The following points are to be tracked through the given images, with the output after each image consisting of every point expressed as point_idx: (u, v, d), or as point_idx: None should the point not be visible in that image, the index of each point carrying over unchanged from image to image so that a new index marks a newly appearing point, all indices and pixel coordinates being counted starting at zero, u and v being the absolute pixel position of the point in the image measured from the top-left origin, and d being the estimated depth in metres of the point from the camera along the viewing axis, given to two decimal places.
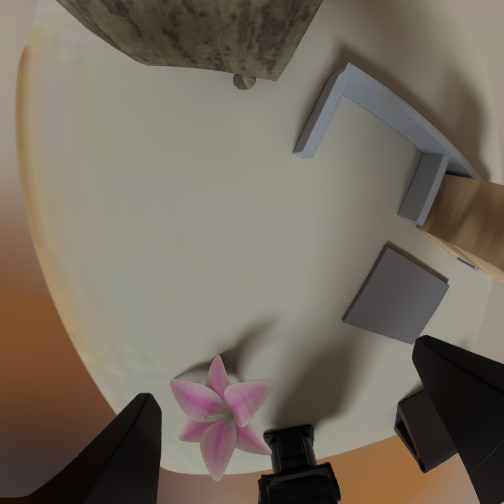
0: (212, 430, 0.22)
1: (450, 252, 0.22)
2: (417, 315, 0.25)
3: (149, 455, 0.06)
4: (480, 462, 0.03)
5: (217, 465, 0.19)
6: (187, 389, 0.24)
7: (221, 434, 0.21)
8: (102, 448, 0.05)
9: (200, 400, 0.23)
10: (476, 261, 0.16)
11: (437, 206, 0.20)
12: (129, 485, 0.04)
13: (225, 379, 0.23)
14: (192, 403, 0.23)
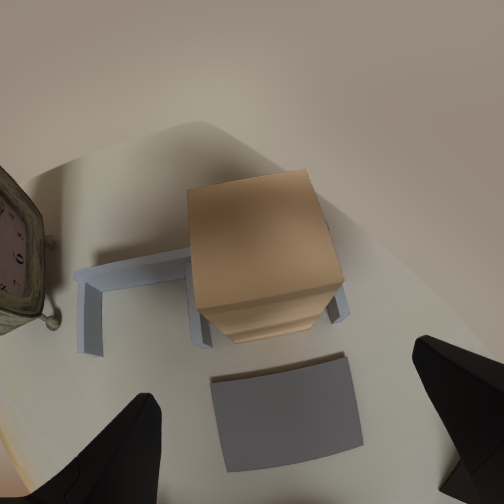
0: None
1: (304, 329, 0.21)
2: (328, 417, 0.17)
3: (149, 455, 0.06)
4: (480, 462, 0.03)
5: None
6: None
7: None
8: (102, 448, 0.05)
9: None
10: (260, 323, 0.15)
11: None
12: (129, 485, 0.04)
13: None
14: None
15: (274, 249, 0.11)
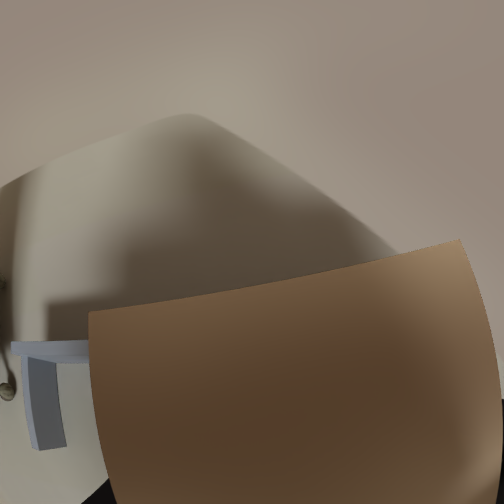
0: None
1: None
2: None
3: None
4: None
5: None
6: None
7: None
8: None
9: None
10: None
11: None
12: None
13: None
14: None
15: None
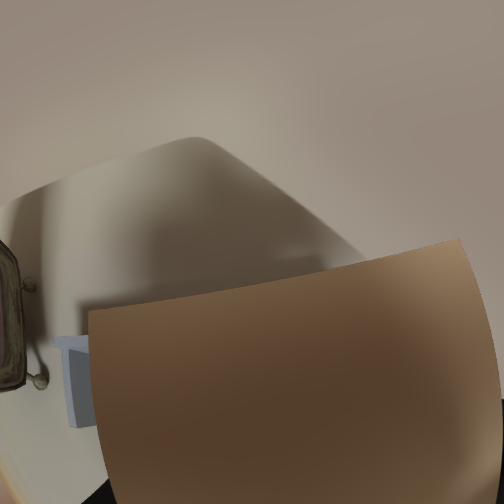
0: None
1: None
2: None
3: None
4: None
5: None
6: None
7: None
8: None
9: None
10: None
11: None
12: None
13: None
14: None
15: None
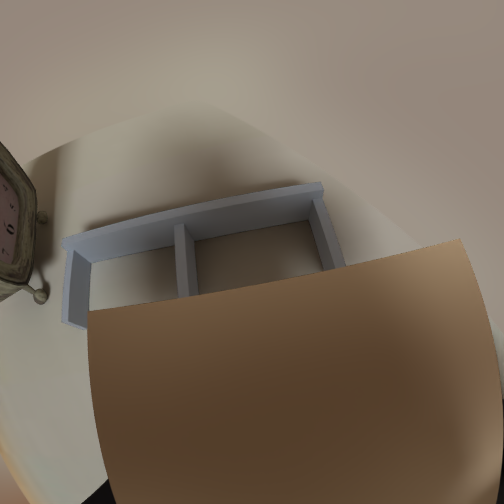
0: None
1: None
2: None
3: None
4: None
5: None
6: None
7: None
8: None
9: None
10: None
11: None
12: None
13: None
14: None
15: None
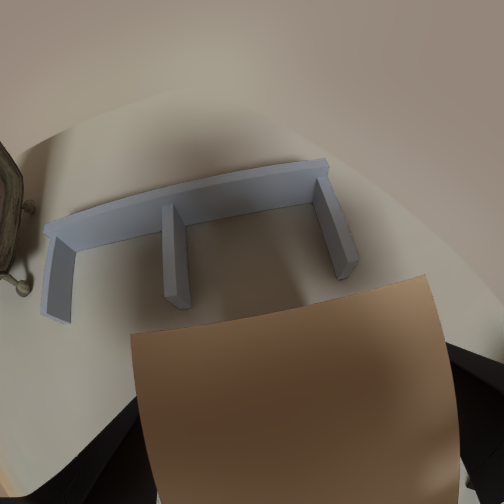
0: None
1: None
2: None
3: None
4: (480, 461, 0.03)
5: None
6: None
7: None
8: (102, 448, 0.05)
9: None
10: None
11: None
12: (129, 485, 0.04)
13: None
14: None
15: (351, 501, 0.03)
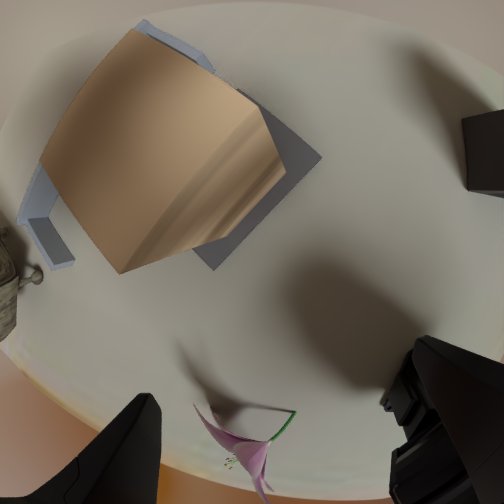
0: None
1: (280, 176, 0.17)
2: None
3: (149, 455, 0.06)
4: (480, 462, 0.03)
5: None
6: None
7: None
8: (103, 448, 0.05)
9: None
10: (219, 212, 0.12)
11: None
12: (129, 485, 0.04)
13: (218, 422, 0.20)
14: None
15: (144, 136, 0.07)
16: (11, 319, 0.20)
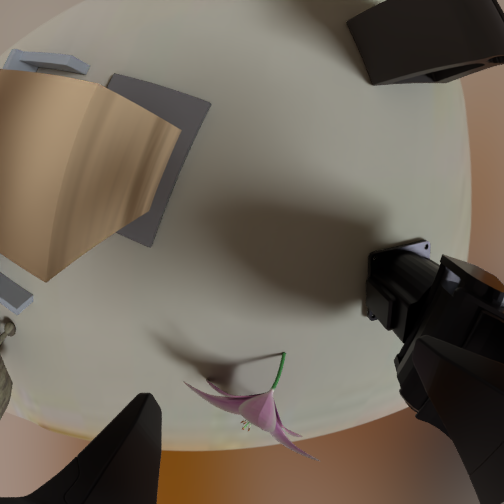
0: (276, 421, 0.20)
1: (176, 135, 0.16)
2: None
3: (149, 455, 0.06)
4: (480, 462, 0.03)
5: (299, 450, 0.16)
6: None
7: None
8: (102, 448, 0.05)
9: None
10: (121, 190, 0.11)
11: None
12: (129, 485, 0.04)
13: (218, 390, 0.22)
14: None
15: (22, 155, 0.05)
16: (5, 379, 0.17)
